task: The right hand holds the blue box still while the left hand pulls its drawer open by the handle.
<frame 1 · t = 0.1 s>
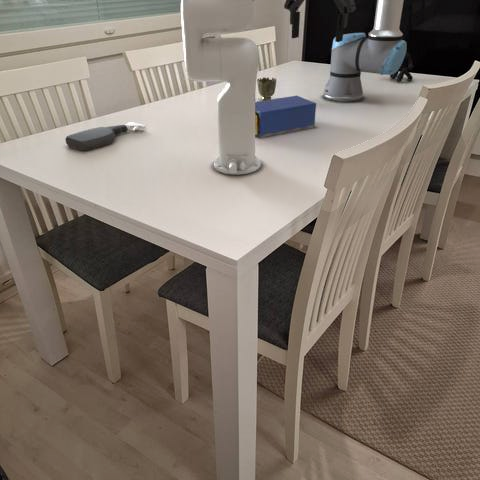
left hand: (232, 18, 141), 31 cm above the table, tool pointing down, fingers open, 9 cm apart
right hand: (316, 39, 123), 28 cm above the table, tool pointing down, fingers open, 13 cm apart
spray bottle: (108, 138, 140), on the table
squiggle: (399, 80, 200), on the table
cup: (266, 100, 175), on the table
drawer: (265, 118, 142), point 4 cm above the table, slide at 0.9 cm
blue box: (279, 127, 147), on the table
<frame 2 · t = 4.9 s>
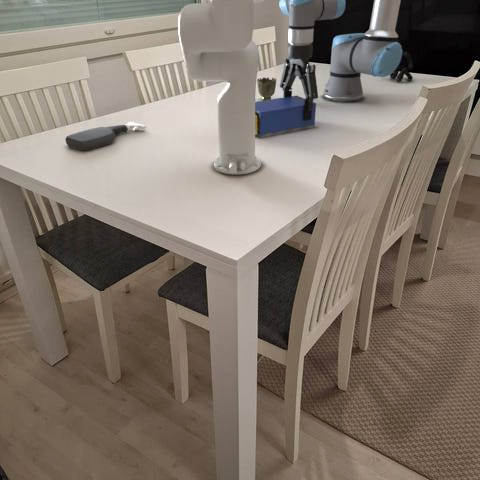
left hand: (238, 89, 133), 14 cm above the table, tool pointing down, fingers closed
right hand: (296, 115, 147), 3 cm above the table, tool pointing down, fingers closed on blue box, 11 cm apart
blue box: (279, 127, 147), on the table, touching right hand
everything else where it was.
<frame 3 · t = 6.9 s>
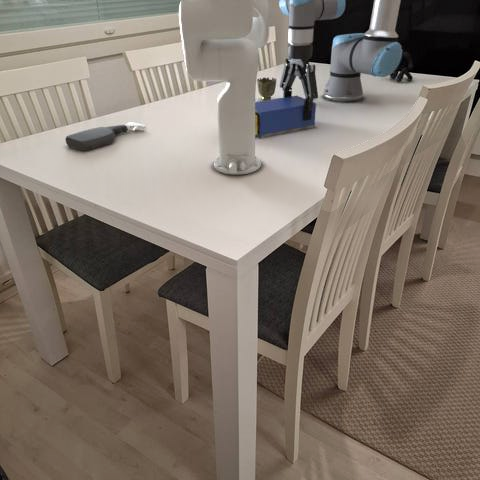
left hand: (239, 123, 140), 3 cm above the table, tool pointing down, fingers closed
right hand: (296, 115, 147), 3 cm above the table, tool pointing down, fingers closed on blue box, 11 cm apart
drawer: (265, 118, 142), point 4 cm above the table, slide at 0.8 cm, touching left hand
blue box: (279, 127, 147), on the table, touching right hand
everything else where it was.
when the right hand's fingers open (3 cm above the table, at t = 10.3 s): blue box stays where it is, on the table.
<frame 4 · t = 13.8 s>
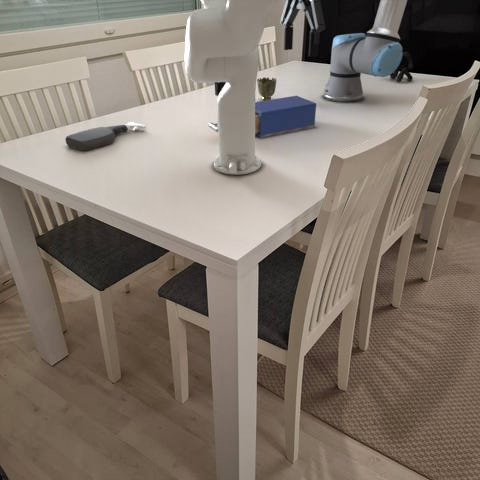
left hand: (221, 95, 132), 13 cm above the table, tool pointing down, fingers closed
right hand: (300, 52, 137), 22 cm above the table, tool pointing down, fingers open, 13 cm apart
drawer: (247, 121, 140), point 4 cm above the table, slide at 7.3 cm
blue box: (279, 127, 146), on the table
everything else where it was.
at the end: drawer slide at 7.3 cm; blue box tilted 0°; blue box never tilted more than 3° during the clip; blue box moved 0.2 cm from its start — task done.
